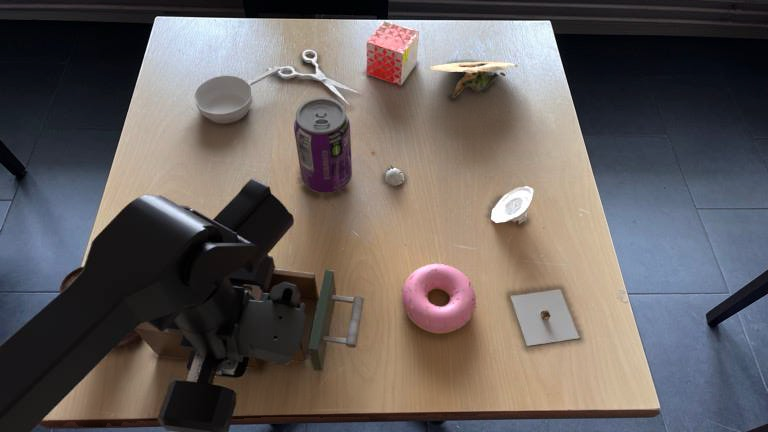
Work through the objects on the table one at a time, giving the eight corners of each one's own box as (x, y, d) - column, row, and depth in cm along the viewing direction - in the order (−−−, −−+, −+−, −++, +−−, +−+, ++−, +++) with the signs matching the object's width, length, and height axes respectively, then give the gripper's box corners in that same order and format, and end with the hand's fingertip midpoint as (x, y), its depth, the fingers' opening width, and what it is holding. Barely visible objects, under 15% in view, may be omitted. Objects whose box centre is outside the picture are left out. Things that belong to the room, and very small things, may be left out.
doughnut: (422, 260, 83) (424, 246, 79) (485, 292, 80) (490, 279, 76) (387, 314, 77) (388, 302, 74) (454, 351, 74) (458, 340, 71)
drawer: (366, 300, 77) (366, 274, 71) (354, 375, 71) (353, 354, 64) (248, 285, 78) (237, 258, 72) (225, 358, 72) (211, 336, 65)
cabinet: (281, 288, 79) (272, 256, 71) (260, 369, 72) (247, 343, 64) (188, 277, 80) (169, 243, 72) (158, 355, 73) (132, 328, 65)
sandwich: (462, 82, 117) (469, 47, 114) (516, 100, 109) (526, 63, 105) (409, 91, 105) (414, 52, 102) (465, 112, 97) (473, 71, 93)
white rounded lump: (390, 169, 93) (391, 159, 91) (409, 179, 92) (410, 169, 90) (380, 180, 92) (380, 170, 90) (399, 190, 91) (400, 181, 89)
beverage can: (354, 194, 90) (352, 133, 78) (302, 198, 89) (292, 137, 77) (349, 156, 95) (347, 92, 83) (301, 159, 94) (291, 96, 82)
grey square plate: (560, 289, 80) (564, 283, 79) (579, 338, 76) (583, 333, 74) (510, 296, 79) (513, 290, 78) (527, 345, 75) (530, 341, 73)
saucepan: (189, 104, 102) (183, 88, 99) (268, 68, 109) (265, 52, 106) (215, 135, 97) (210, 120, 94) (296, 96, 104) (294, 80, 101)
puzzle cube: (400, 85, 107) (403, 53, 100) (366, 74, 108) (366, 41, 102) (416, 63, 111) (419, 31, 104) (383, 52, 113) (384, 20, 106)
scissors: (303, 45, 112) (374, 85, 105) (304, 48, 113) (374, 88, 106) (267, 69, 107) (339, 113, 100) (268, 72, 108) (339, 116, 101)
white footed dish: (508, 234, 90) (517, 240, 82) (485, 215, 90) (492, 219, 82) (539, 200, 90) (552, 202, 82) (516, 180, 90) (527, 180, 82)
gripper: (265, 422, 41) (289, 461, 53) (313, 227, 51) (324, 298, 64) (127, 404, 41) (184, 446, 54) (203, 214, 52) (235, 287, 65)
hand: (238, 363), depth 59 cm, fingers closed
